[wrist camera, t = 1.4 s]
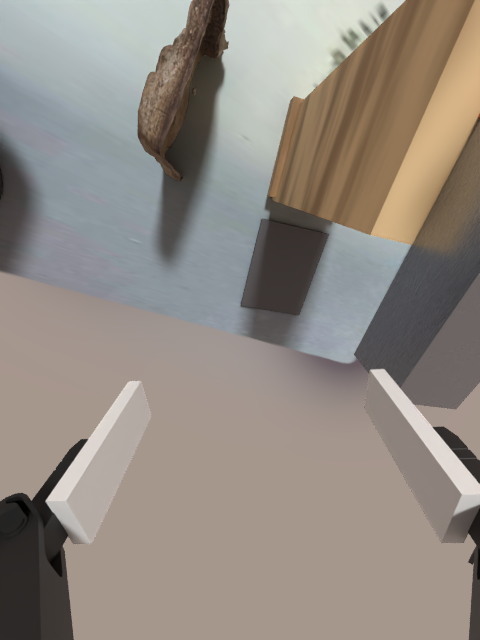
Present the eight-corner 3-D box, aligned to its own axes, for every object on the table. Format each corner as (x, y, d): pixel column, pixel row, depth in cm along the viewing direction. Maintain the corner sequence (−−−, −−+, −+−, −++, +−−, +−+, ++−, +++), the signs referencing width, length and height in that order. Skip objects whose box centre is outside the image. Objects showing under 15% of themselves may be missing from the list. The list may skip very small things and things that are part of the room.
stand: (266, 198, 40) (354, 231, 14) (290, 100, 34) (514, -157, 8) (334, 215, 42) (523, 271, 16) (367, 125, 36) (747, -20, 10)
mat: (240, 304, 49) (241, 305, 48) (261, 218, 42) (262, 219, 41) (298, 314, 51) (299, 315, 50) (327, 233, 44) (329, 234, 43)
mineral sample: (182, 182, 38) (161, 182, 25) (156, 168, 37) (120, 159, 24) (231, 47, 32) (239, -51, 18) (201, 25, 30) (187, -98, 17)
